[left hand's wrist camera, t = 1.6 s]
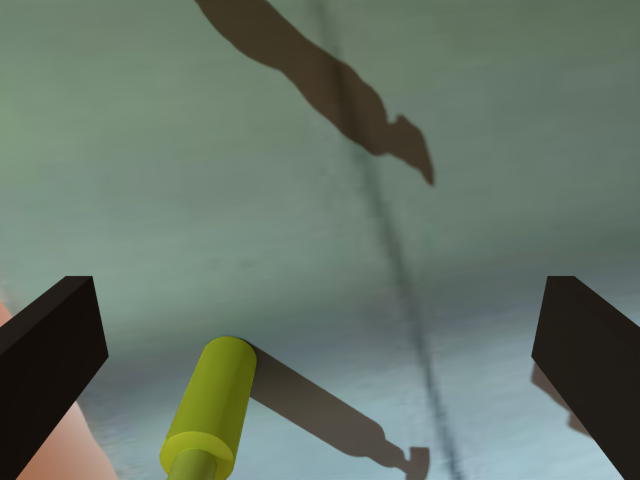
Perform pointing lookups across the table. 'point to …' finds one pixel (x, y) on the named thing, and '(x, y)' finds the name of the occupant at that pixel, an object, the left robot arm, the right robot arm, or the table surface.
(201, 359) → the soap dispenser
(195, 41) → the table surface
